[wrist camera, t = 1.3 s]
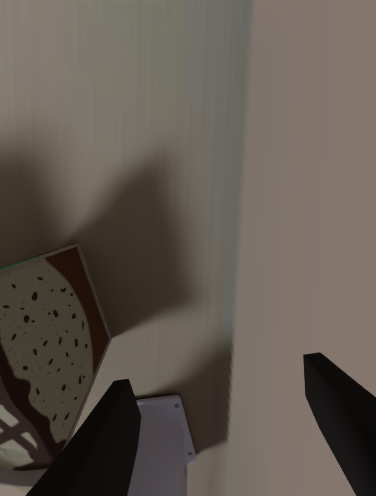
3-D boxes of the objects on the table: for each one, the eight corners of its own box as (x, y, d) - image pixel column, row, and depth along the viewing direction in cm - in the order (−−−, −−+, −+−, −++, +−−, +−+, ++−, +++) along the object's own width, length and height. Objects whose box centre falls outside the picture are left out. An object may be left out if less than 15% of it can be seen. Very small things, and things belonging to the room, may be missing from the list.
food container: (-1, 238, 18) (-216, 306, 9) (72, 224, 18) (-70, 279, 8) (54, 360, 22) (-54, 504, 12) (116, 351, 21) (53, 494, 12)
